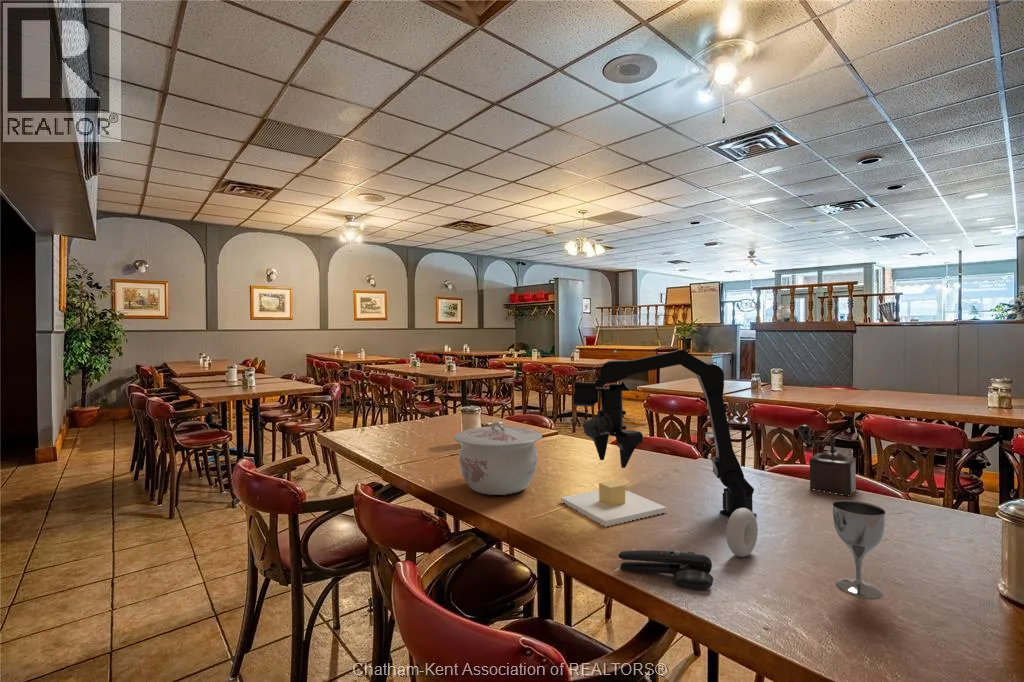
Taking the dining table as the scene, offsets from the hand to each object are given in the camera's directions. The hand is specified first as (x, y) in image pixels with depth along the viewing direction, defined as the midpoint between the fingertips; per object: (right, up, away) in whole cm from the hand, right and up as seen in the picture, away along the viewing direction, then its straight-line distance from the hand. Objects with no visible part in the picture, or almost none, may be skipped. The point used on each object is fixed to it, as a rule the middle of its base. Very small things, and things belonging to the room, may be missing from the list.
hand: (612, 463), depth 132 cm
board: (0, -12, 0) cm, 12 cm away
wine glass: (+36, -12, -43) cm, 58 cm away
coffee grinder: (+67, -11, +15) cm, 70 cm away
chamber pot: (-32, -12, +18) cm, 38 cm away
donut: (+21, -12, -30) cm, 39 cm away
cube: (0, -10, 0) cm, 10 cm away
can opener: (+2, -13, -38) cm, 40 cm away
